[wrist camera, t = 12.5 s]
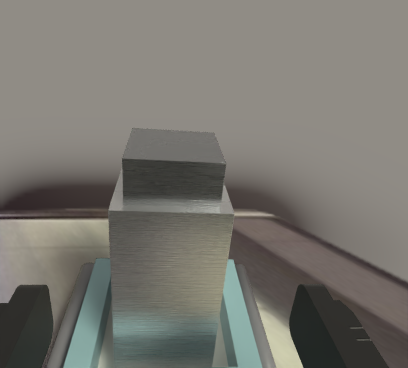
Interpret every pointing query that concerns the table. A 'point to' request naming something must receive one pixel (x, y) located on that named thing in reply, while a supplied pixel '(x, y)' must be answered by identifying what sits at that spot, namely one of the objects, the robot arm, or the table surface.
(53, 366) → the tray
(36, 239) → the table surface
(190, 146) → the stepped metal tower
